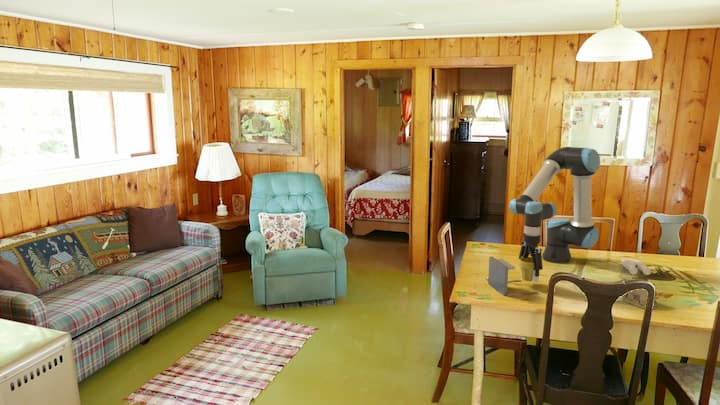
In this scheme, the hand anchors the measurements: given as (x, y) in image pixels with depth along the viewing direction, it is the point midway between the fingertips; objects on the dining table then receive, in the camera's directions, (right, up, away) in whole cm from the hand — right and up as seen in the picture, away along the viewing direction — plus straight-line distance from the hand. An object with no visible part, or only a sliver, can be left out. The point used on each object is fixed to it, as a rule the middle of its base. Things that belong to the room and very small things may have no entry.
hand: (529, 278), depth 240 cm
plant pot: (0, -1, 0) cm, 0 cm away
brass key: (-14, -2, +12) cm, 19 cm away
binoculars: (+63, +1, +23) cm, 67 cm away
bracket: (-8, -4, -1) cm, 9 cm away
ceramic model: (+42, -8, -20) cm, 48 cm away
